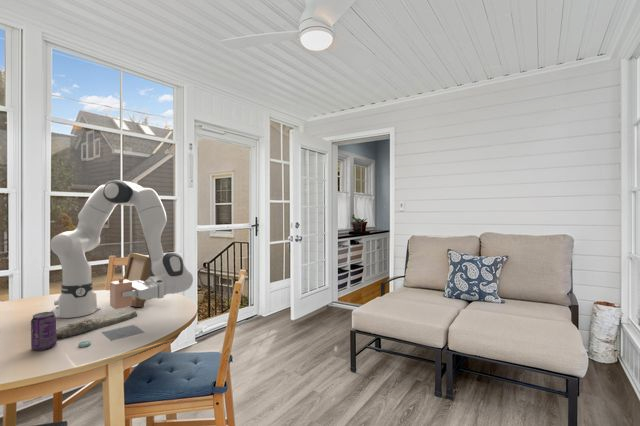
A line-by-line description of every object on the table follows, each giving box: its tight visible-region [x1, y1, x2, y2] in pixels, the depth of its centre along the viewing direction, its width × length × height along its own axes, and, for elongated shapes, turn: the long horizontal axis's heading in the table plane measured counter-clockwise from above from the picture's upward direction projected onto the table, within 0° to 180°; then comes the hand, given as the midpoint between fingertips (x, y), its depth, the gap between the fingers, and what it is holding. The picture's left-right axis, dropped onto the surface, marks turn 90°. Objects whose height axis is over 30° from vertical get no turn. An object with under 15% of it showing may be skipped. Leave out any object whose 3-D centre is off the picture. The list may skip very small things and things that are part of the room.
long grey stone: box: [56, 310, 138, 340], centre depth 144 cm, size 35×5×10 cm
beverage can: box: [30, 311, 57, 351], centre depth 124 cm, size 7×7×12 cm
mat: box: [101, 324, 145, 342], centre depth 138 cm, size 12×12×1 cm
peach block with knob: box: [109, 277, 133, 310], centre depth 136 cm, size 6×6×11 cm
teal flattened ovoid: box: [78, 340, 92, 348], centre depth 124 cm, size 4×4×2 cm
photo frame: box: [123, 252, 151, 308], centre depth 182 cm, size 15×22×25 cm
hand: (118, 292), depth 136 cm, fingers closed on peach block with knob, 6 cm apart
